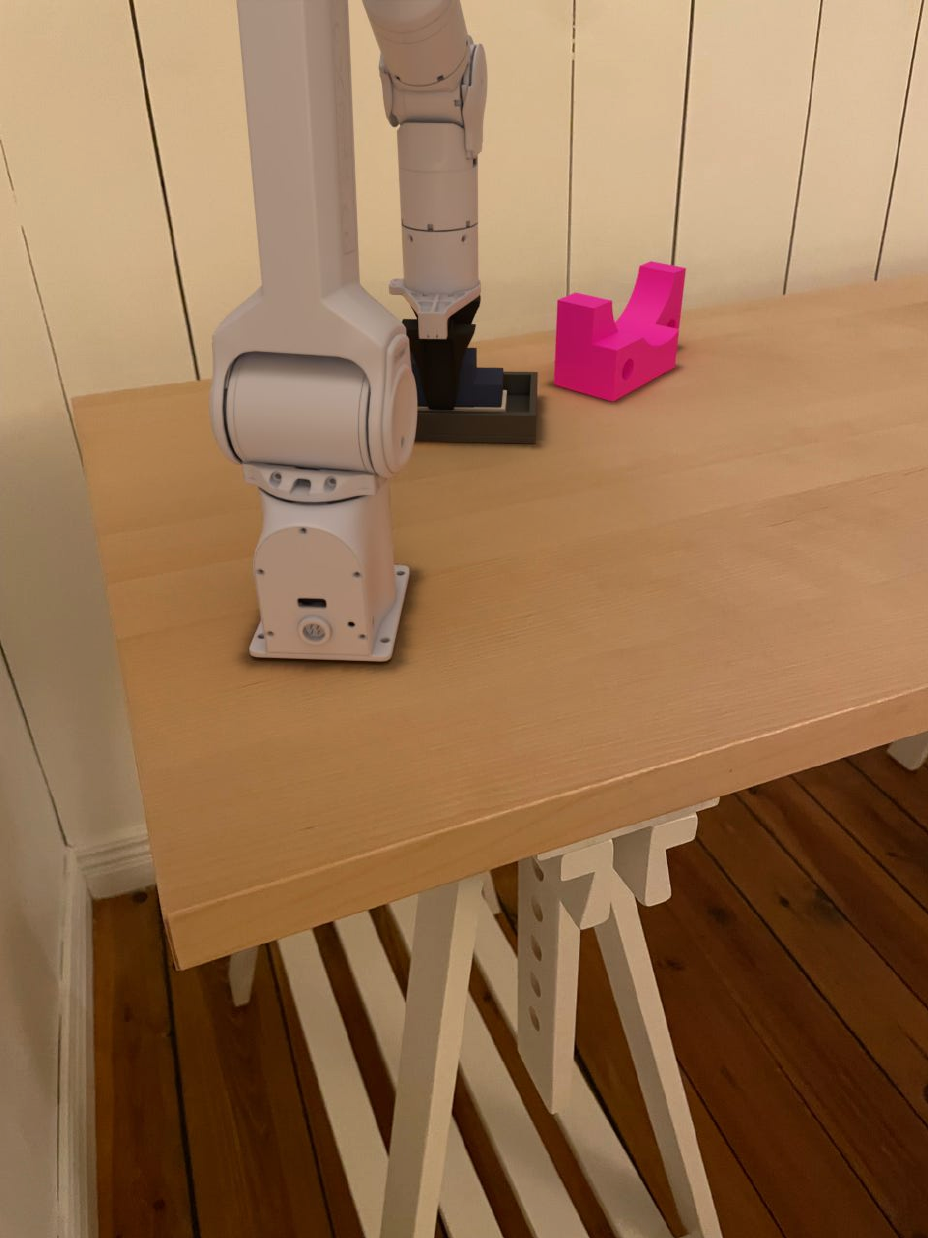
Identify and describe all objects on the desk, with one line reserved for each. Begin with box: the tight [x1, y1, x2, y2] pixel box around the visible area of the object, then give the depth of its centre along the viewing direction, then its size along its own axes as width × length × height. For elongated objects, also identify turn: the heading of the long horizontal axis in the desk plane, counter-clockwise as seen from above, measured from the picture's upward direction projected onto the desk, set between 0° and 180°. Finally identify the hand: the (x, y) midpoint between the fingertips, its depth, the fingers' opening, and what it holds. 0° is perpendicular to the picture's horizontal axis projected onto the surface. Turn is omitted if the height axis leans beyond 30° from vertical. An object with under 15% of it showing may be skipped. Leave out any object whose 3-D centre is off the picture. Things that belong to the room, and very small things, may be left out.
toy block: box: [553, 260, 687, 403], centre depth 88 cm, size 15×6×8 cm, turn 140°
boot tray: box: [414, 370, 539, 445], centre depth 80 cm, size 9×15×2 cm, turn 86°
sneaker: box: [410, 347, 507, 412], centre depth 79 cm, size 10×4×5 cm, turn 86°
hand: (444, 396), depth 80 cm, fingers open, 4 cm apart
